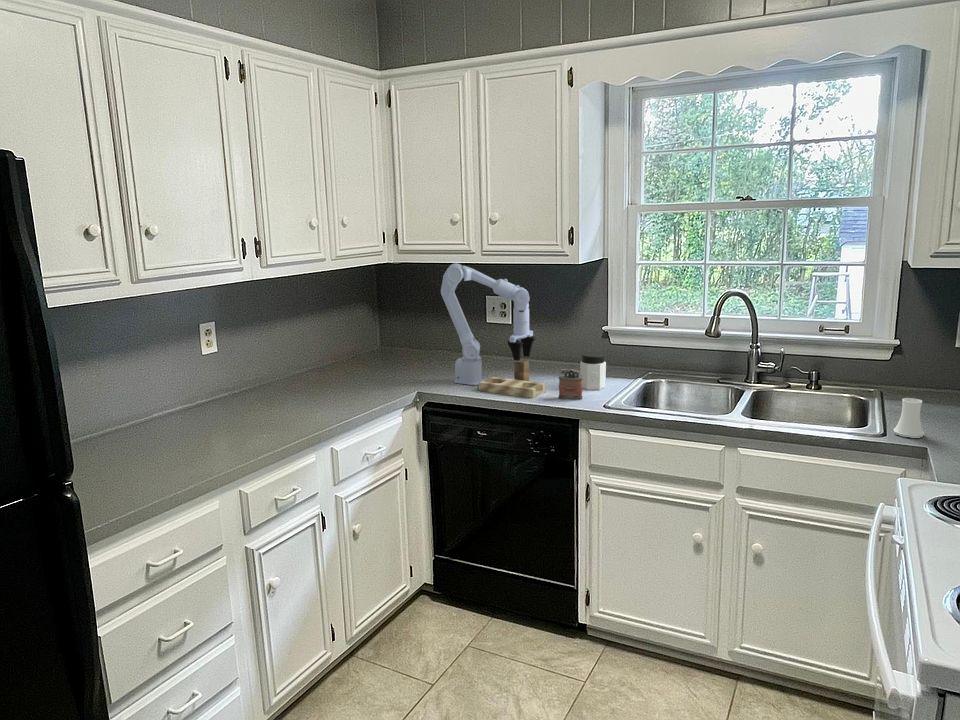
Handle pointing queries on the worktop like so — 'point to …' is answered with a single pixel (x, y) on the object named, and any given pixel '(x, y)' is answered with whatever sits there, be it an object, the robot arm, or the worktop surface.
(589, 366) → the jar
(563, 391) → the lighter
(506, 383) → the wooden tray with recesses
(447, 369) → the worktop surface
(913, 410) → the white flared vase
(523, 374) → the peg
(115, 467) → the worktop surface
